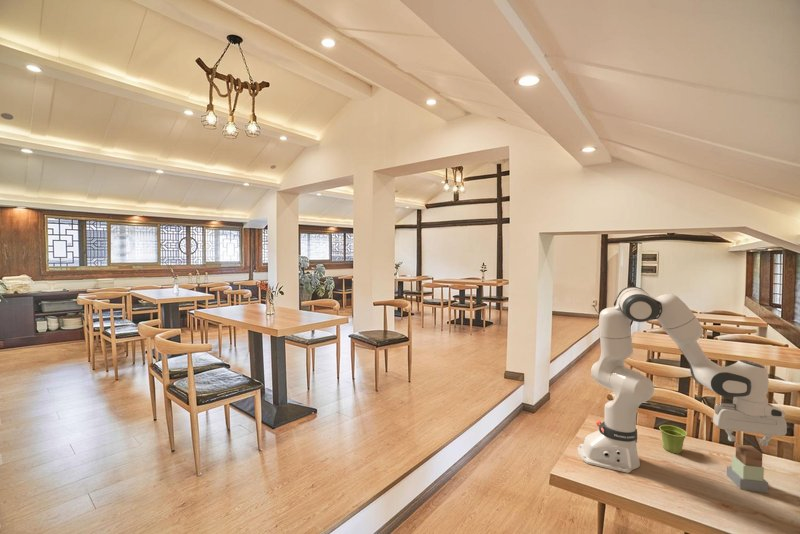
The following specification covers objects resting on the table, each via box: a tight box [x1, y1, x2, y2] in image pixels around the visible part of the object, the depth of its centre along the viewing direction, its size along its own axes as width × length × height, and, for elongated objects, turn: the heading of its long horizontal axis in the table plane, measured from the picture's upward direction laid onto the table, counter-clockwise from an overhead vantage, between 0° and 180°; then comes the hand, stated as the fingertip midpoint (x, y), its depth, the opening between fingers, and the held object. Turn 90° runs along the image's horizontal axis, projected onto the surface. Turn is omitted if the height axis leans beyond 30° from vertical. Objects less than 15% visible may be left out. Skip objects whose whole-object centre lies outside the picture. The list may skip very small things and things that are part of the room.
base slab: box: [726, 465, 769, 494], centre depth 130 cm, size 8×8×4 cm
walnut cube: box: [735, 444, 763, 467], centre depth 129 cm, size 5×5×5 cm
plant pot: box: [659, 424, 688, 454], centre depth 152 cm, size 9×9×9 cm
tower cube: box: [731, 455, 765, 481], centre depth 129 cm, size 6×6×5 cm
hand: (747, 442), depth 129 cm, fingers open, 8 cm apart
